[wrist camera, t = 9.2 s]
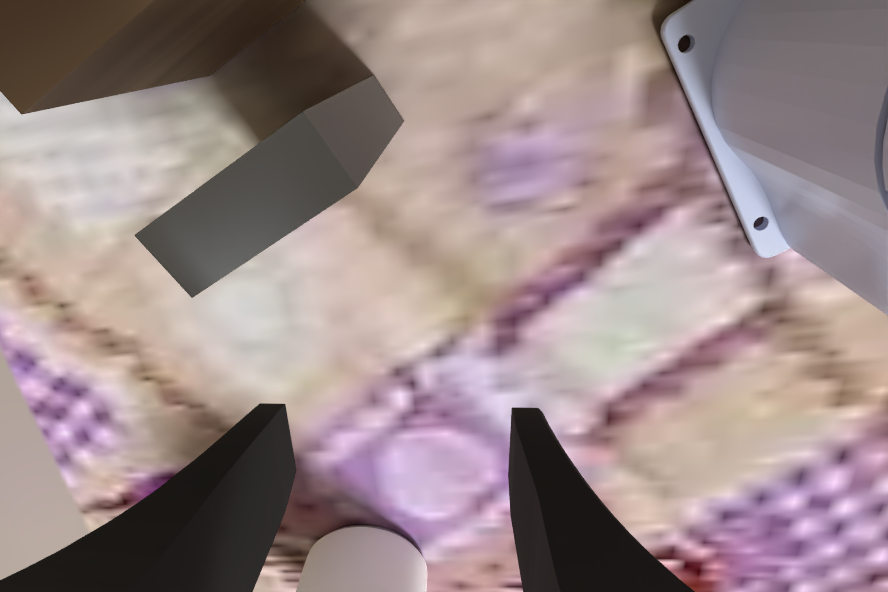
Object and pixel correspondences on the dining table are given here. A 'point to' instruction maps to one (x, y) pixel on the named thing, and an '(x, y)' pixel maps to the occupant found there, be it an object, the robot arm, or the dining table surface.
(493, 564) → the dining table surface
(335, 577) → the can
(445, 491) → the dining table surface
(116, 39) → the domino
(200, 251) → the domino
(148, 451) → the dining table surface
